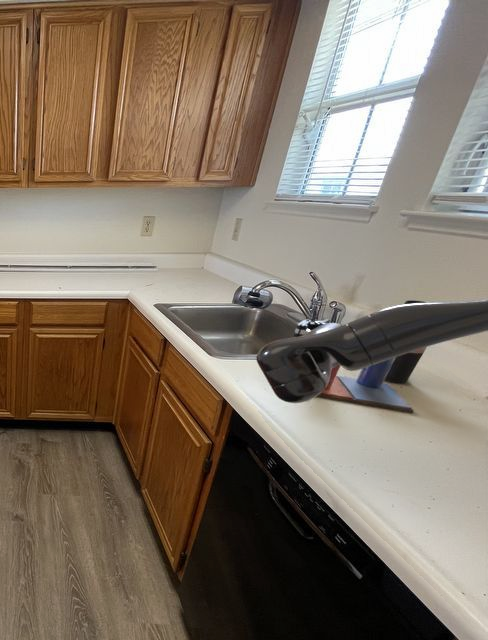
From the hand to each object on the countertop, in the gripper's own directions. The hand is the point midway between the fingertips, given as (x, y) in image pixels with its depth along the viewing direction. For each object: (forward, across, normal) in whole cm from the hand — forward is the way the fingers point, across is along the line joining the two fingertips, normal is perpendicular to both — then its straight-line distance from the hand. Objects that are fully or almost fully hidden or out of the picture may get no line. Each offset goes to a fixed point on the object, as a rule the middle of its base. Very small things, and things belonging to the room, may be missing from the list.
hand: (350, 329), depth 86 cm
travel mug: (+36, -6, +20) cm, 41 cm away
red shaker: (+12, +3, +18) cm, 22 cm away
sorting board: (+17, -1, +19) cm, 26 cm away
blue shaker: (+23, -4, +18) cm, 30 cm away
